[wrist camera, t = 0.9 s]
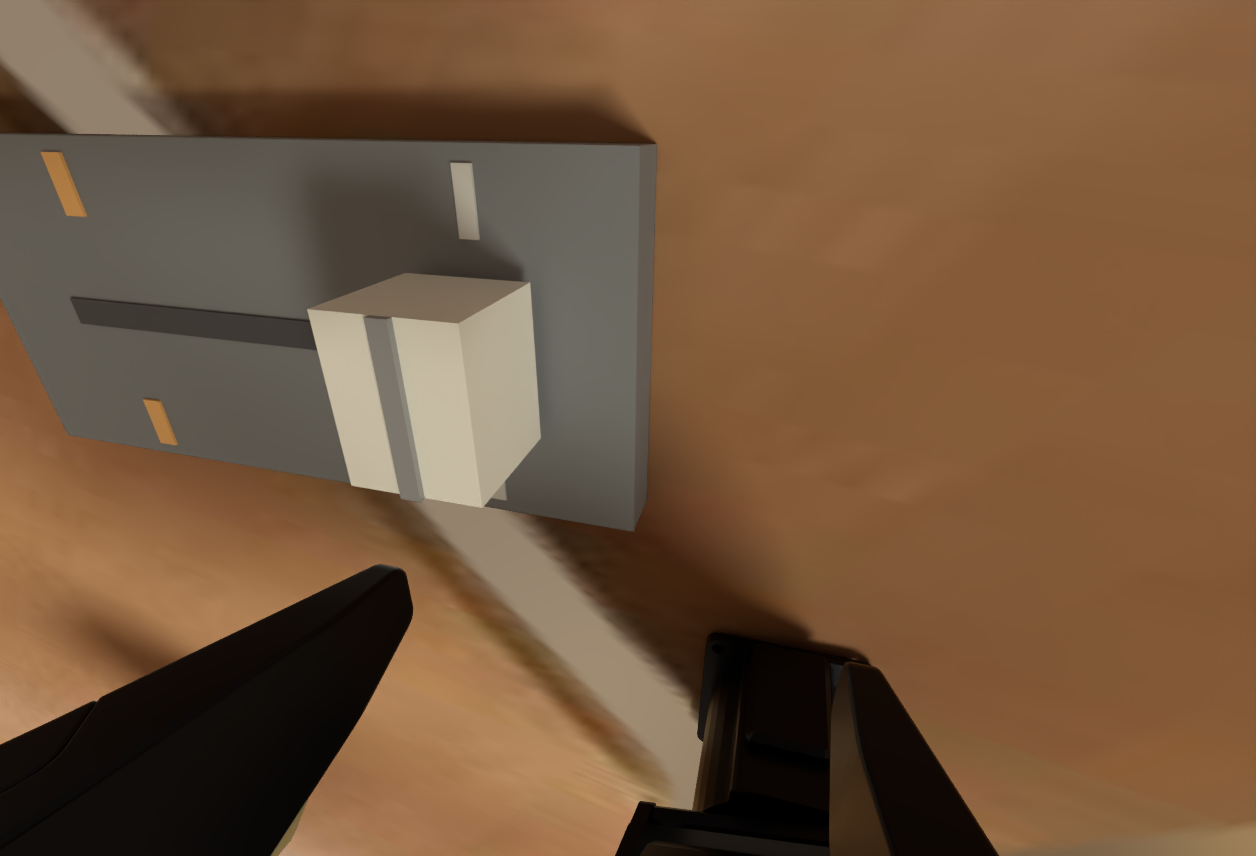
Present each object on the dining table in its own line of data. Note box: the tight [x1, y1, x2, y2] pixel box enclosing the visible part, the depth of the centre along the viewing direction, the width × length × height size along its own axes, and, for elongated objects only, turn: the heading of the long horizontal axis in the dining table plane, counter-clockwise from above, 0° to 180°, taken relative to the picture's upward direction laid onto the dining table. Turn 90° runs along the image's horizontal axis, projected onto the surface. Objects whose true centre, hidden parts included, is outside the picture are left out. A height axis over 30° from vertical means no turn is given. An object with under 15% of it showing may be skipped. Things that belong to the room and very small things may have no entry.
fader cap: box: [307, 273, 541, 508], centre depth 16 cm, size 5×4×4 cm
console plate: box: [0, 133, 657, 532], centre depth 21 cm, size 12×26×2 cm, turn 89°
